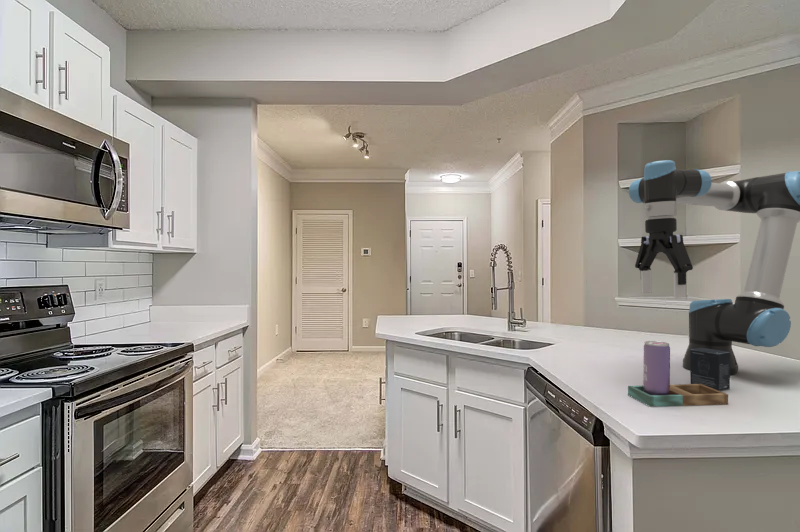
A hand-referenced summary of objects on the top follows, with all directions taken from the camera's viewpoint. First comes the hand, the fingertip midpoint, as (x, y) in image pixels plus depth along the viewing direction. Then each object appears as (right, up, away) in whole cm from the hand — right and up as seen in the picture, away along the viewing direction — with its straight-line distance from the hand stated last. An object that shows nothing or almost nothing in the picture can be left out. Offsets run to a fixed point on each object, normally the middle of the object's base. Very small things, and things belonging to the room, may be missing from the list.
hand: (662, 295), depth 127 cm
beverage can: (-6, -27, -8) cm, 29 cm away
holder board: (-1, -27, -7) cm, 28 cm away
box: (+16, -27, +4) cm, 31 cm away
